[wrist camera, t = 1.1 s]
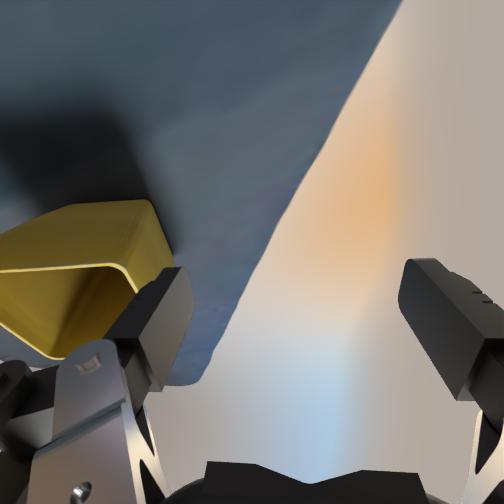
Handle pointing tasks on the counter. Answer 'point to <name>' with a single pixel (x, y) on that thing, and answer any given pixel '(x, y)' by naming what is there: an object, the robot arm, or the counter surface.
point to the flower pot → (77, 271)
